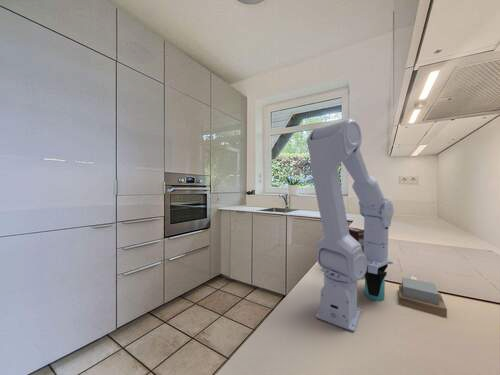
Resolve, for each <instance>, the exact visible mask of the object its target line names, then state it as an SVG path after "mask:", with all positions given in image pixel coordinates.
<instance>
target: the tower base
mask: <svg viewBox="0 0 500 375" xmlns="http://www.w3.org/2000/svg"><path fill="white" fill-rule="evenodd" d="M438 293H439V305H437V304H433V303H429V302H425V301H421V300H417V299H413V298H409V297H405V296H403V290H402V283H401V284H400V283H399V285H398V302H399V303H398V304H399V305H400V306H404V307H407V308H410V309H411V308H412V309H414V310H418V311H420V312H421V311H422V312H425V313H429V314H433V315H435V316H440V317H443V318H447V317H448V315H447V313H448V309H447V305H446V304H445V301H444V299H443V296H442V294H441V293H440V292H438Z"/></svg>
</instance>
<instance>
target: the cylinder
mask: <svg viewBox="0 0 500 375" xmlns="http://www.w3.org/2000/svg"><path fill="white" fill-rule="evenodd" d="M385 285H386V281H385V278H384V279H383V281H382V284H381V287H380V292H379V295H378V297H376V296H373V295H369V292H368V288H367V282H366V279H365V278H364V296H365V297H366V298H368V299H369V300H372V301H377V302H382V301H385Z"/></svg>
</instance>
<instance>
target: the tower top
mask: <svg viewBox="0 0 500 375" xmlns="http://www.w3.org/2000/svg"><path fill="white" fill-rule="evenodd" d="M401 285H402V290H403V296H405V297H409V298H413V299H417V300H421V301H425V302H429V303H433V304H437V305H439V293H440V292H439V290H438V288H437V286H436V284H435V283H432V282H429V281H428V282H427V281H423V280H418V279H413V278H408V277H404V276H402V277H401Z"/></svg>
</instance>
